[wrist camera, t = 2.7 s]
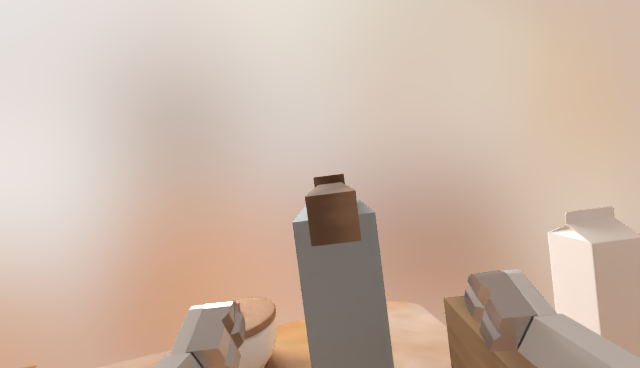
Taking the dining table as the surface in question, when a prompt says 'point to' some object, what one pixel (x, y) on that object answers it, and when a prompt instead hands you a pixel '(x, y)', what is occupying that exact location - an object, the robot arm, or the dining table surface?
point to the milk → (598, 275)
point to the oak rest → (474, 341)
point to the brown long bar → (332, 212)
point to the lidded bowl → (257, 331)
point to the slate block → (344, 297)
